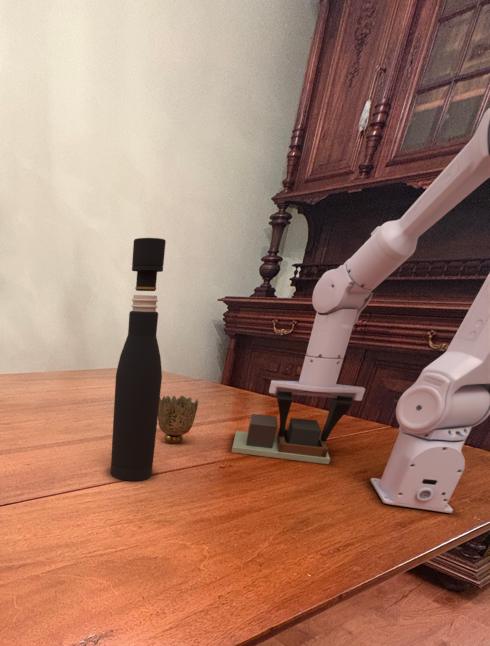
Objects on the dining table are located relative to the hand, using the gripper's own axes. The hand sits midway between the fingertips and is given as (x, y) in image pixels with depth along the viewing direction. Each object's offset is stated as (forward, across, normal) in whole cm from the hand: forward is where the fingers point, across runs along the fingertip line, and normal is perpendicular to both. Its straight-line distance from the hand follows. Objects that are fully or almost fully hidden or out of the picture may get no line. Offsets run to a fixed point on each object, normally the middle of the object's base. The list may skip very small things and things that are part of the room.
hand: (301, 437), depth 77 cm
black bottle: (+3, +26, +24) cm, 35 cm away
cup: (+3, +22, +4) cm, 23 cm away
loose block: (+2, 0, 0) cm, 2 cm away
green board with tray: (+3, +4, 0) cm, 4 cm away
